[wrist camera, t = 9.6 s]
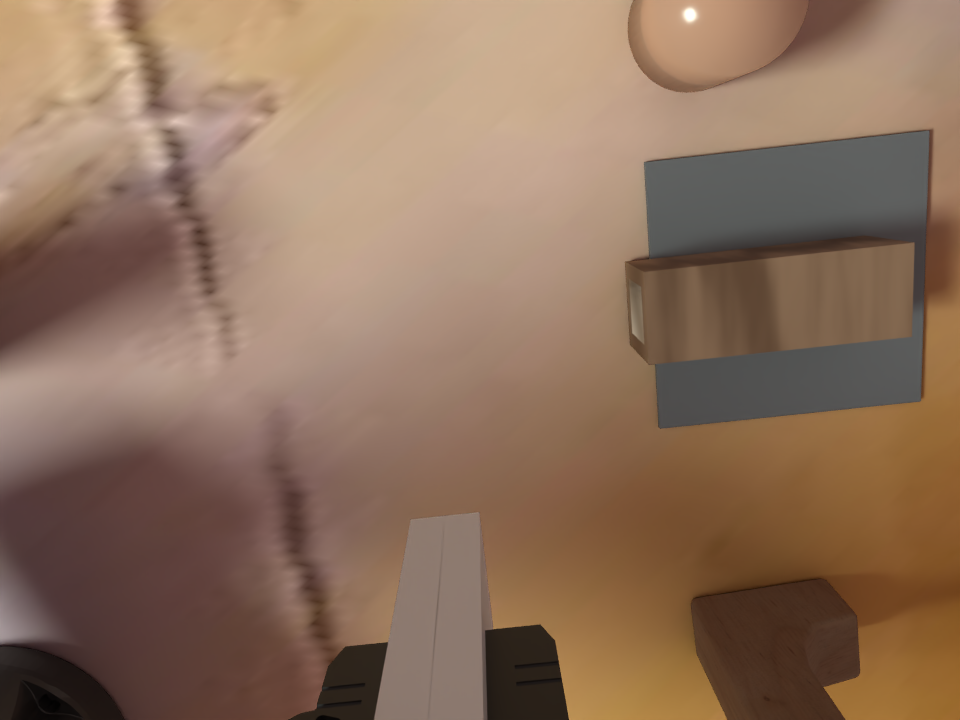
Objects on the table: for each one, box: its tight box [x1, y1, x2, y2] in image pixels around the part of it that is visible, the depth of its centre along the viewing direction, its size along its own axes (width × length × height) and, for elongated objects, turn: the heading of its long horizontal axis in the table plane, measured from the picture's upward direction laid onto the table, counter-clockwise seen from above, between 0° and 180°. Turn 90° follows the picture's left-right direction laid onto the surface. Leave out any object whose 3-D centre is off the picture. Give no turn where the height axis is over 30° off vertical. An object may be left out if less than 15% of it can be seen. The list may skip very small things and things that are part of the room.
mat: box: [644, 131, 929, 429], centre depth 44 cm, size 16×16×1 cm
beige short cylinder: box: [628, 0, 809, 93], centre depth 38 cm, size 7×7×7 cm
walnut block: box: [625, 236, 915, 365], centre depth 42 cm, size 5×5×14 cm
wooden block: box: [691, 579, 860, 720], centre depth 41 cm, size 9×4×18 cm, turn 100°
